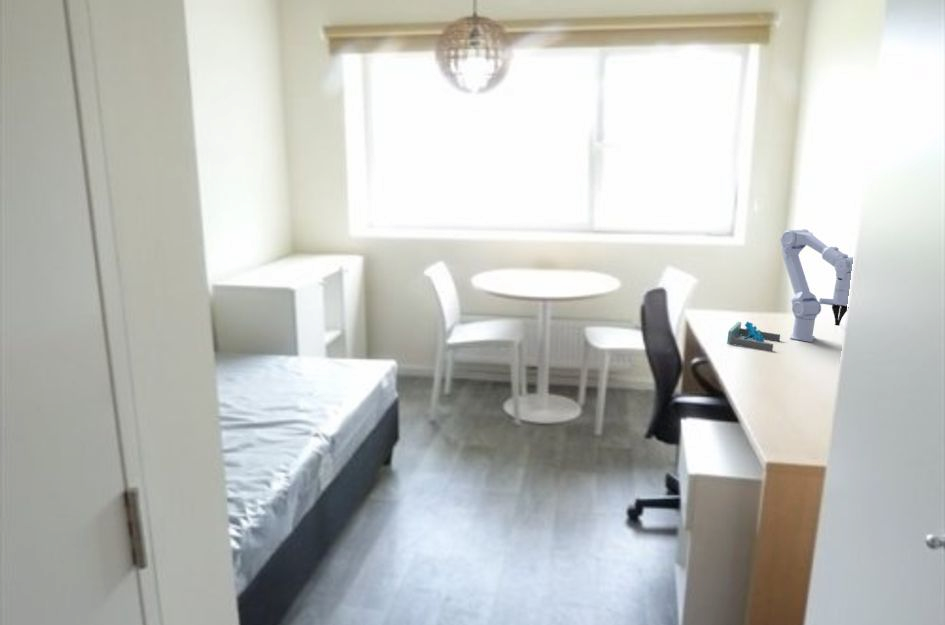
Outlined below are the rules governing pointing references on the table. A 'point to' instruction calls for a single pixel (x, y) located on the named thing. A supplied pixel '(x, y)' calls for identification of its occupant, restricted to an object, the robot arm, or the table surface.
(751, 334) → the gear
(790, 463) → the table surface
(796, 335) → the robot arm
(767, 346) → the grey open frame
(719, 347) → the table surface
